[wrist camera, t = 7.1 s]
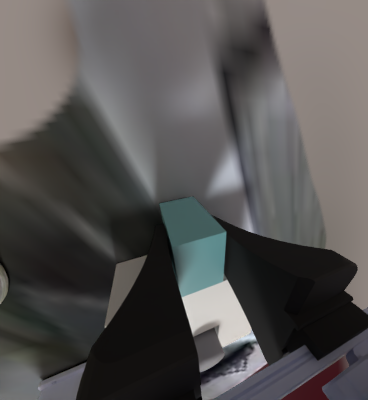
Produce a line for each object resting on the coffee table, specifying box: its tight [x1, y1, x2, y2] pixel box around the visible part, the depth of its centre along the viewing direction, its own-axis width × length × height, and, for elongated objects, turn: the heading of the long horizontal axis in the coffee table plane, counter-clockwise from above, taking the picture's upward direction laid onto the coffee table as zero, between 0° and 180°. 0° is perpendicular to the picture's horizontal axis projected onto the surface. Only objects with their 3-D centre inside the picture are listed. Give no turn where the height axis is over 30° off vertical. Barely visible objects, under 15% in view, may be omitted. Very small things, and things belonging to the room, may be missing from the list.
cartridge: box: [159, 197, 226, 297], centre depth 11 cm, size 14×3×5 cm, turn 4°
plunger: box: [193, 327, 224, 372], centre depth 12 cm, size 3×3×2 cm
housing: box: [104, 255, 252, 347], centre depth 14 cm, size 12×12×4 cm
